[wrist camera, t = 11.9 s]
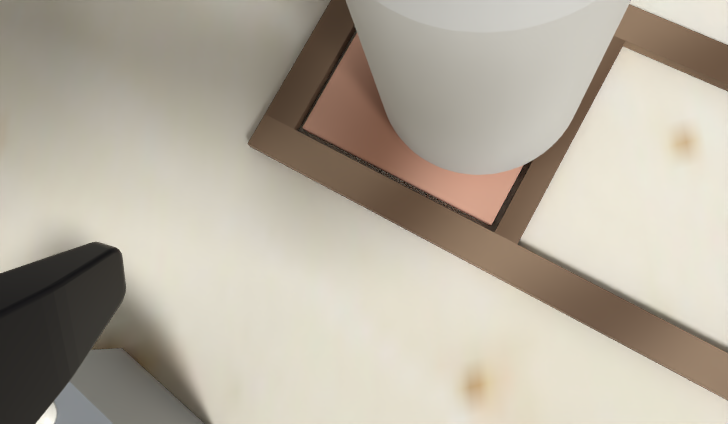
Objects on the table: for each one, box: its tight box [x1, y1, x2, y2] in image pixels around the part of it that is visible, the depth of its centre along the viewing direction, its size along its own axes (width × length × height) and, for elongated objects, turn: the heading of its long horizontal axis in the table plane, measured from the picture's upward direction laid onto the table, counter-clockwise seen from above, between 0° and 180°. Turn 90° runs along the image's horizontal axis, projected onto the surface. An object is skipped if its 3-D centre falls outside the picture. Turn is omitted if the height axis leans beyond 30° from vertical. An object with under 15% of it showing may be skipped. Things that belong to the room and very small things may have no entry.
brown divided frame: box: [248, 0, 728, 400], centre depth 20 cm, size 27×10×1 cm, turn 61°
